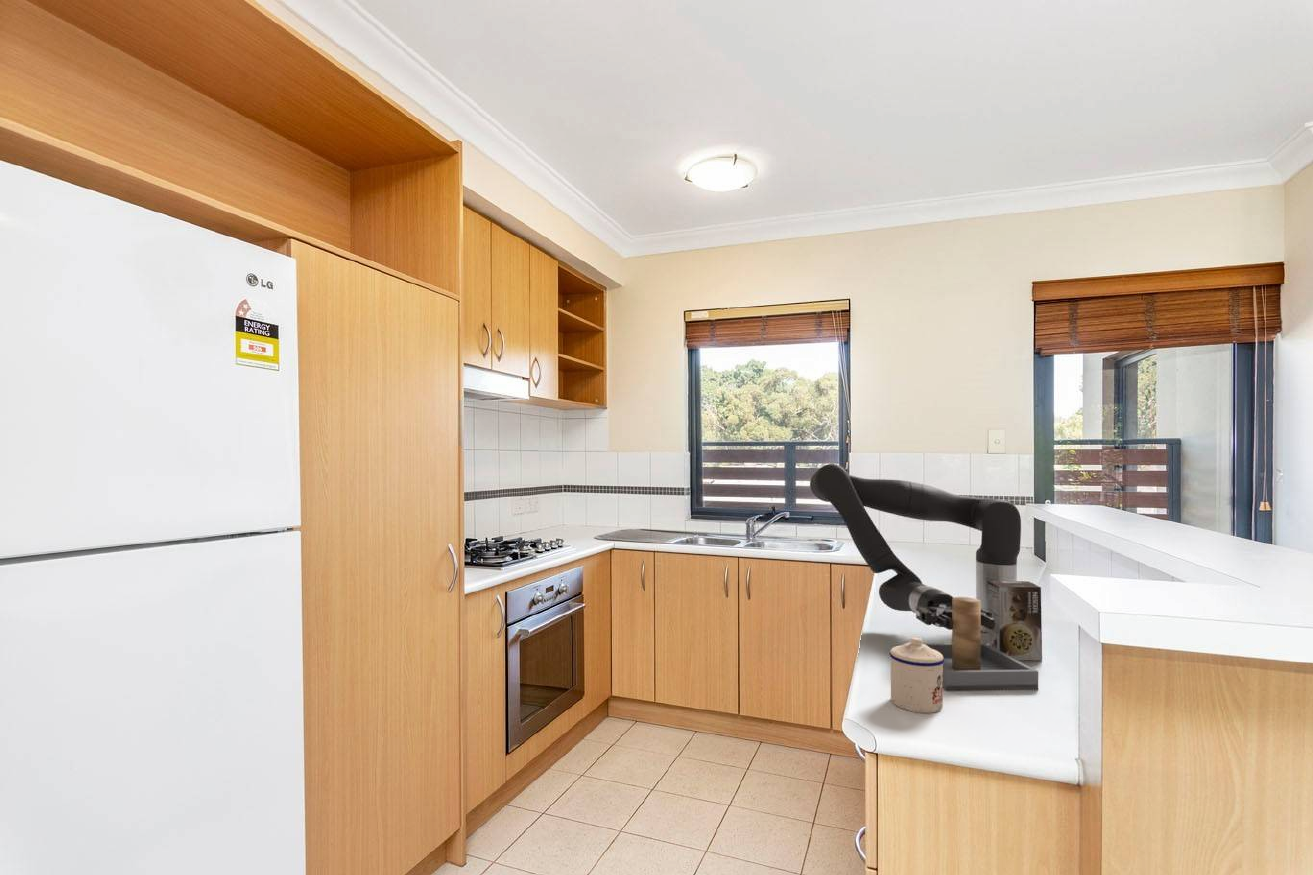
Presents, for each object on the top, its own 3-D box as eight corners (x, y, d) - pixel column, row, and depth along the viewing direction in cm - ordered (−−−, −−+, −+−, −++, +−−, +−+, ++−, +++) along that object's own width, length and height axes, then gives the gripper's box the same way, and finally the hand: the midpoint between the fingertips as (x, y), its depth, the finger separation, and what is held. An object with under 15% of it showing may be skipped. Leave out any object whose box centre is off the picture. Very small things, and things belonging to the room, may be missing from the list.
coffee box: (1029, 652, 147) (1028, 580, 147) (1043, 661, 140) (1042, 586, 140) (986, 650, 147) (986, 579, 148) (998, 659, 141) (998, 585, 141)
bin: (984, 659, 141) (984, 643, 141) (1038, 689, 123) (1038, 671, 123) (904, 660, 140) (904, 643, 140) (946, 690, 122) (946, 672, 122)
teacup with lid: (945, 717, 110) (945, 648, 110) (888, 709, 113) (888, 642, 113) (942, 693, 121) (942, 630, 121) (890, 686, 124) (890, 625, 125)
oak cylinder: (971, 664, 135) (971, 596, 135) (985, 673, 129) (985, 602, 130) (947, 664, 134) (947, 596, 135) (960, 673, 129) (960, 602, 129)
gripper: (902, 588, 146) (937, 606, 130) (963, 588, 147) (1006, 605, 131) (901, 622, 146) (937, 643, 130) (963, 621, 147) (1006, 643, 130)
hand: (972, 624), depth 130 cm, fingers open, 8 cm apart
